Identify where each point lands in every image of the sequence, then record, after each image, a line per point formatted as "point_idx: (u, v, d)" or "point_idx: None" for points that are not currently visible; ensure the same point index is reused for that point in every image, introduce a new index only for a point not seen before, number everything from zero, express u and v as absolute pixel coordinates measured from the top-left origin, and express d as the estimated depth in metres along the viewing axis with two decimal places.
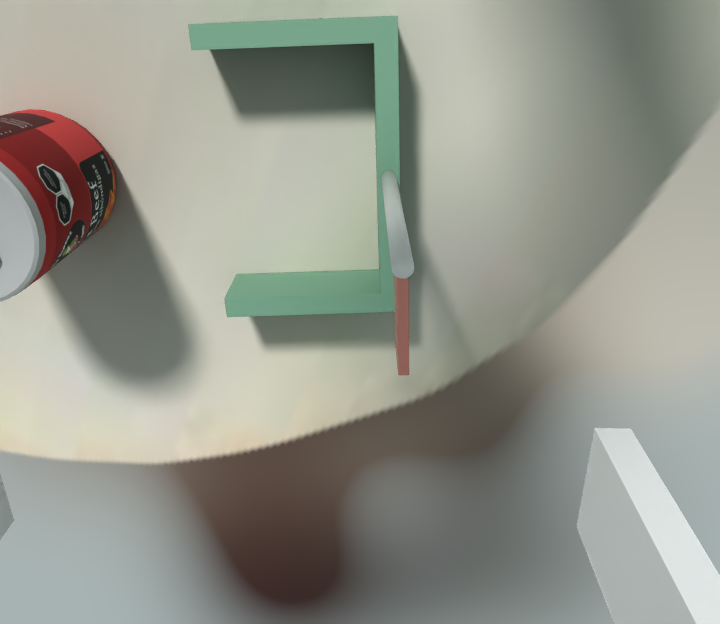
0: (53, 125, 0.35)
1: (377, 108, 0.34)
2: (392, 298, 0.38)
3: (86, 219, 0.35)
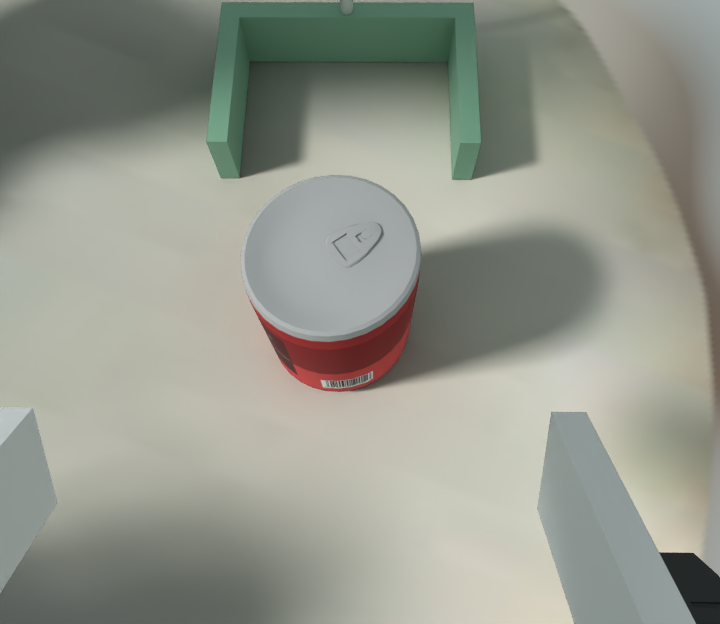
0: None
1: (289, 16, 0.41)
2: (460, 8, 0.41)
3: None
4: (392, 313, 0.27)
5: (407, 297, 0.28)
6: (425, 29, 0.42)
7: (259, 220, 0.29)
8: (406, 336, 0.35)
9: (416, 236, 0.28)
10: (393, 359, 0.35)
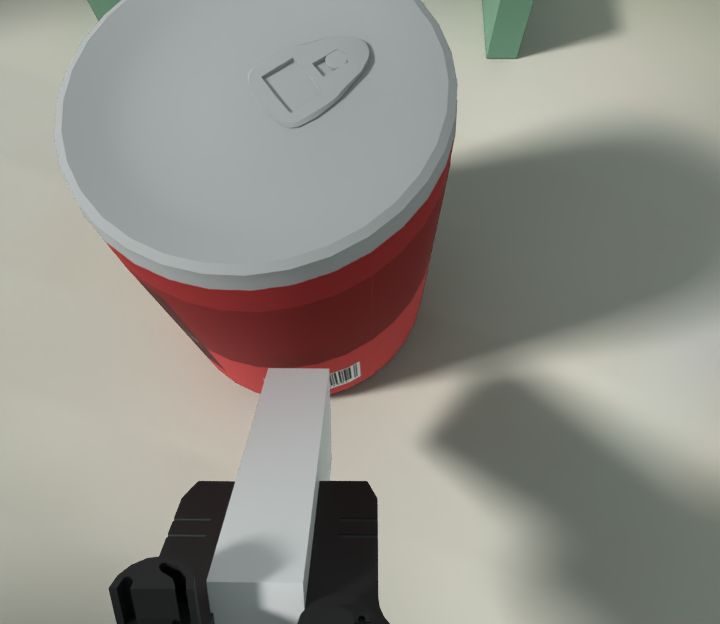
0: None
1: None
2: None
3: None
4: (396, 225, 0.12)
5: (429, 190, 0.12)
6: None
7: (103, 32, 0.13)
8: (419, 300, 0.20)
9: (447, 58, 0.13)
10: (396, 341, 0.20)
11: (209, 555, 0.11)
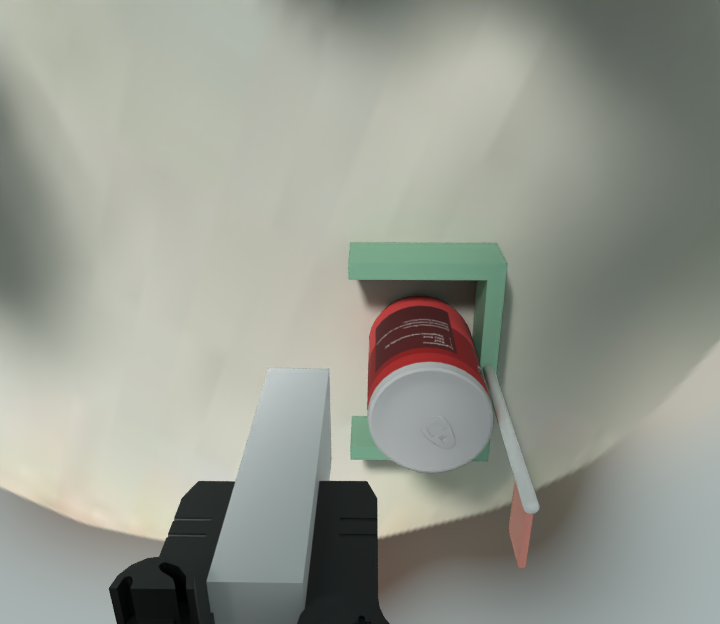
0: (452, 318, 0.45)
1: (484, 323, 0.45)
2: None
3: None
4: None
5: None
6: None
7: (457, 377, 0.38)
8: None
9: (441, 471, 0.41)
10: None
11: (210, 554, 0.11)
